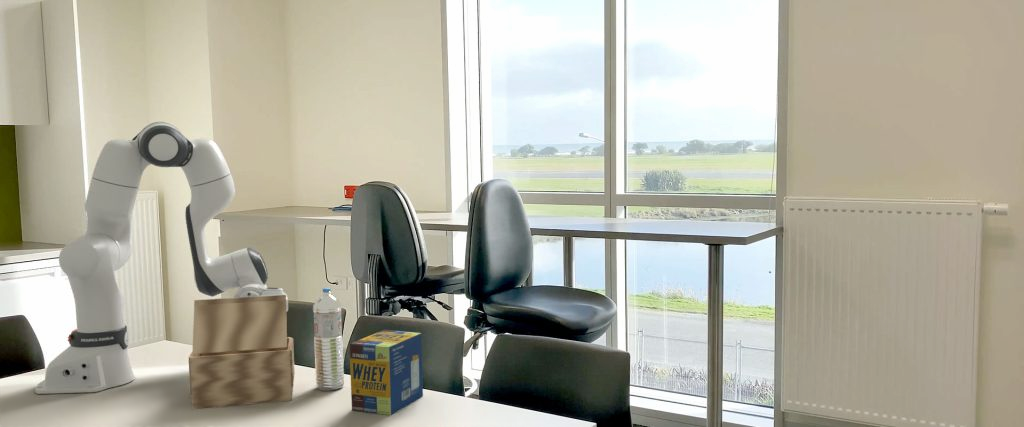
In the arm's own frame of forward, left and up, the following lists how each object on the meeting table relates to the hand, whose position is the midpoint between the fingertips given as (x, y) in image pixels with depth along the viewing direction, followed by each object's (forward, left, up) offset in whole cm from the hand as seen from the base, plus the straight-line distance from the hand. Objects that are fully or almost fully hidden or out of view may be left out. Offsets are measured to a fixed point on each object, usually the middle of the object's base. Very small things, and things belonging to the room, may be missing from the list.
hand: (245, 310), depth 198 cm
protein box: (+33, -26, -19) cm, 46 cm away
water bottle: (+20, -9, -19) cm, 29 cm away
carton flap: (0, -14, -1) cm, 14 cm away
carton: (0, -10, -19) cm, 22 cm away
